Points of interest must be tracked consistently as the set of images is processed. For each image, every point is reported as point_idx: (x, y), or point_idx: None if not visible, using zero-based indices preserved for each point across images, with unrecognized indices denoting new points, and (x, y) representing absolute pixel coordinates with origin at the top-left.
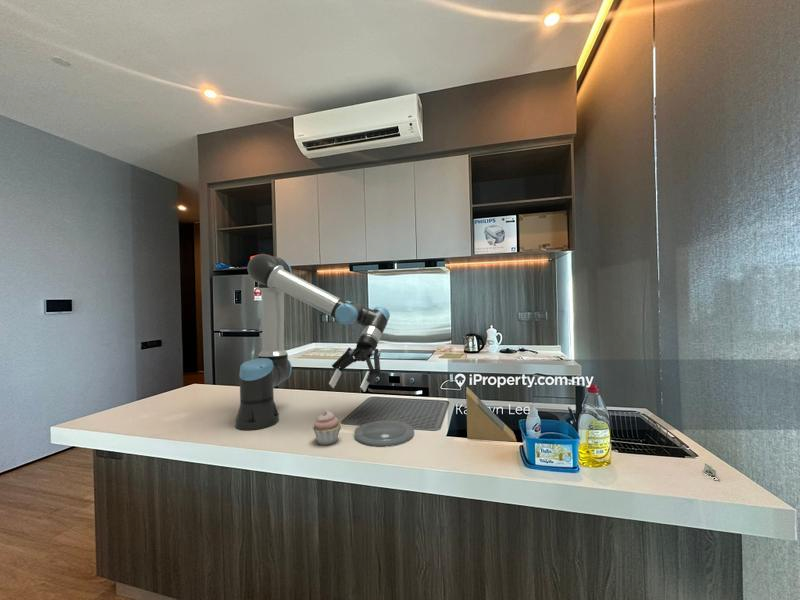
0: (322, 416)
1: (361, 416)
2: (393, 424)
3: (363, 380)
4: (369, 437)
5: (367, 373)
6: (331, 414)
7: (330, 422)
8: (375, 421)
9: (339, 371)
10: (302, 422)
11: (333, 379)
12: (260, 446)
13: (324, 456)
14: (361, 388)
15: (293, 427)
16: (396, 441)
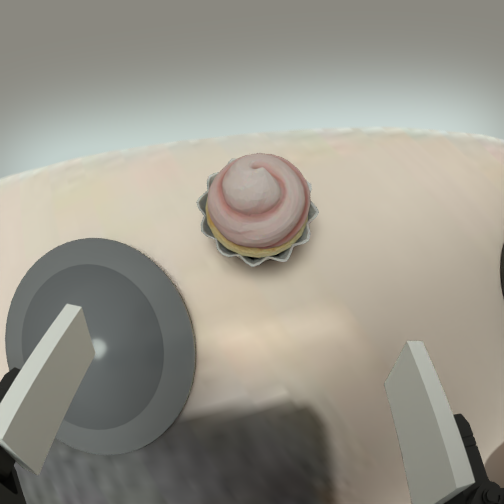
0: (267, 163)
1: (269, 498)
2: (76, 411)
3: (46, 350)
4: (106, 269)
5: (2, 410)
6: (232, 180)
7: (222, 171)
8: (156, 435)
9: (432, 495)
10: (451, 347)
11: (417, 386)
12: (411, 147)
13: (201, 141)
14: (81, 320)
15: (446, 294)
16: (29, 270)
